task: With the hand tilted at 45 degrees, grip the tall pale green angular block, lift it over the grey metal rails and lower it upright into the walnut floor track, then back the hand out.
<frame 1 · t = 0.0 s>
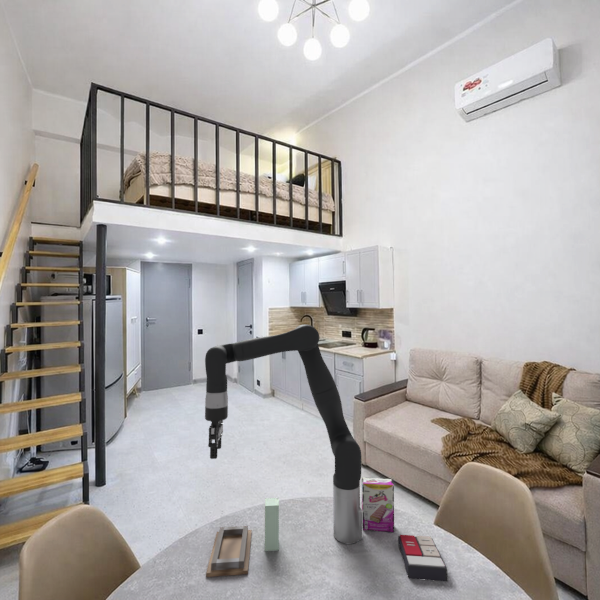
hand: (215, 453, 111), 29 cm above the table, tool pointing down, fingers open, 8 cm apart
candy bar box: (378, 528, 117), on the table
pale green angular block: (271, 546, 108), on the table
track: (230, 552, 105), on the table
calculator: (421, 562, 101), on the table
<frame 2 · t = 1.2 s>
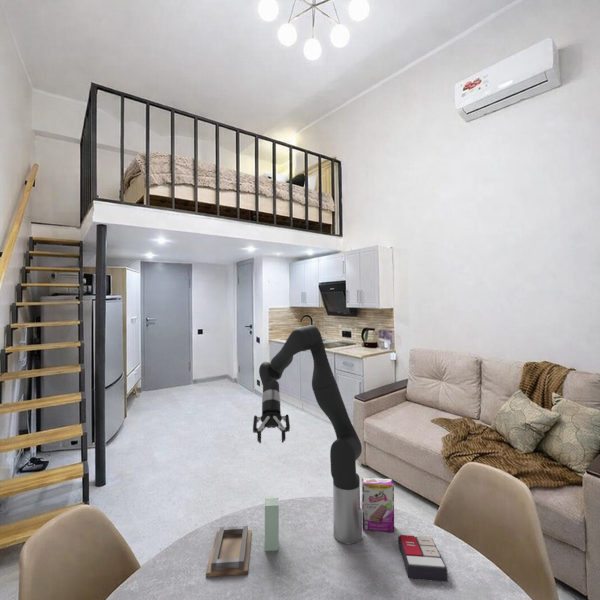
hand: (271, 442, 123), 29 cm above the table, tool tilted 45°, fingers open, 8 cm apart
nothing on the table moved.
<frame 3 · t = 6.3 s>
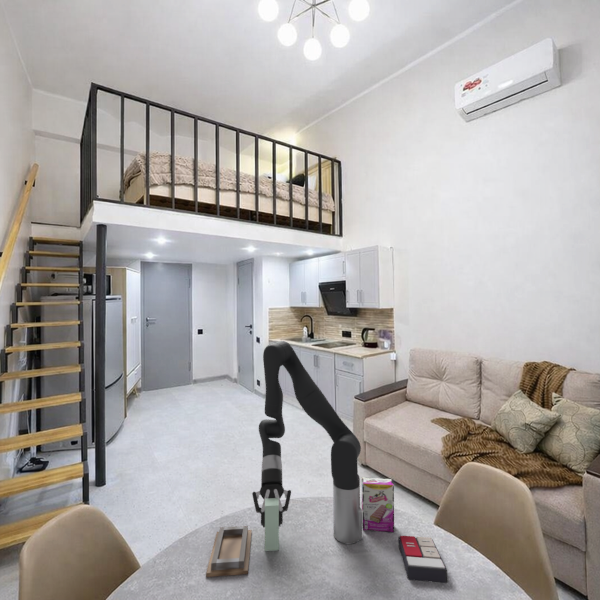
hand: (271, 526, 107), 7 cm above the table, tool tilted 45°, fingers closed on pale green angular block, 4 cm apart
pale green angular block: (271, 546, 108), on the table, touching gripper
everything else where it was.
when the fingers open (9 cm above the table, at t = 11.7 s): pale green angular block stays where it is, resting on track.
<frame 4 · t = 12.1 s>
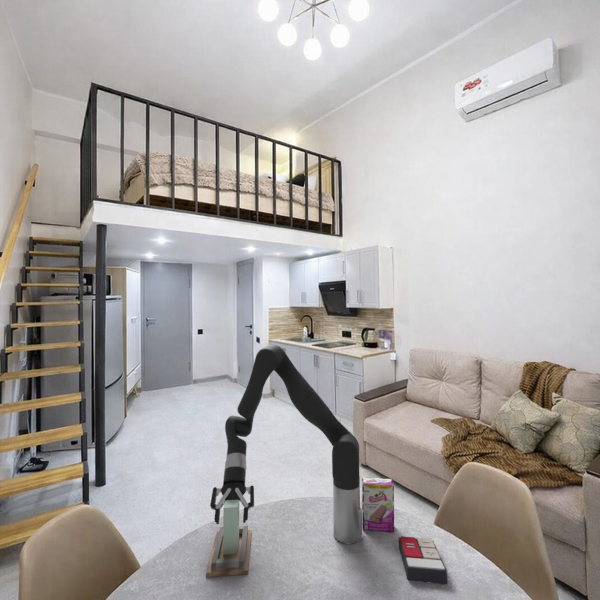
hand: (231, 522, 104), 10 cm above the table, tool tilted 45°, fingers open, 8 cm apart
pale green angular block: (231, 549, 105), point 1 cm above the table, touching track
everything else where it was.
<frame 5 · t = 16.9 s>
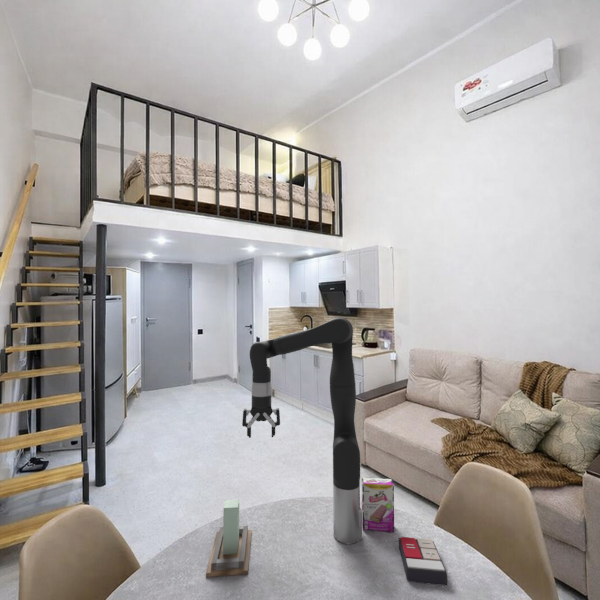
hand: (261, 436, 124), 30 cm above the table, tool pointing down, fingers open, 8 cm apart
at the end: pale green angular block inside the target area on the track (0.2 cm from its centre), point 1.0 cm above the track's base; pale green angular block tilted 0°; the gripper is holding nothing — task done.
